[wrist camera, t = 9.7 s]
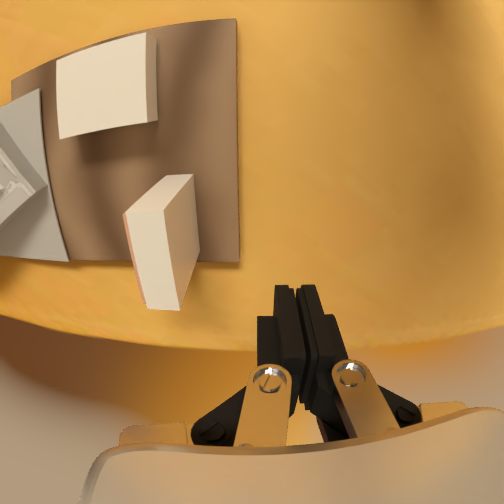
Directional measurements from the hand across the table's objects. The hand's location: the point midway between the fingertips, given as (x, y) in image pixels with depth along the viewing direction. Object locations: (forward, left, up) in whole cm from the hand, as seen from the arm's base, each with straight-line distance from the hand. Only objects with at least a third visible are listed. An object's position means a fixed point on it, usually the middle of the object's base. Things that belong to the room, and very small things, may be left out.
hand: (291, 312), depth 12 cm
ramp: (+33, -5, -11) cm, 35 cm away
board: (+13, -6, -11) cm, 18 cm away
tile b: (+7, -1, -10) cm, 12 cm away
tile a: (+8, -11, -8) cm, 16 cm away
